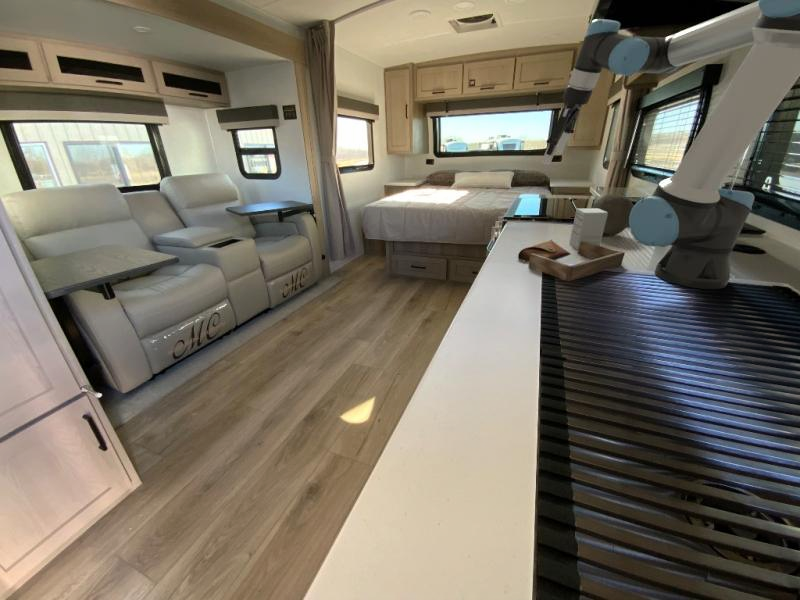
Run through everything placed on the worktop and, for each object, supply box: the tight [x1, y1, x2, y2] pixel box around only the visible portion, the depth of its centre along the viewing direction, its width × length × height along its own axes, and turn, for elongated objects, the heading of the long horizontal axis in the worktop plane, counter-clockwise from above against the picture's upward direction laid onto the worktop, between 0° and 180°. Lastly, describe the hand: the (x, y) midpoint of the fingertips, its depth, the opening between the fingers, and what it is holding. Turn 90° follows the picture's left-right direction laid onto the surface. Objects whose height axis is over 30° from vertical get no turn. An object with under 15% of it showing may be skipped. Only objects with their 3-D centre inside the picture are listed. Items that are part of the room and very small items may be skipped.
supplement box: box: [569, 207, 608, 251], centre depth 112 cm, size 7×7×13 cm
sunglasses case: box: [517, 239, 571, 262], centre depth 107 cm, size 18×7×7 cm, turn 128°
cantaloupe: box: [591, 193, 634, 237], centre depth 124 cm, size 14×14×15 cm
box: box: [528, 241, 626, 283], centre depth 98 cm, size 14×24×4 cm, turn 119°
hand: (552, 157), depth 114 cm, fingers open, 13 cm apart
